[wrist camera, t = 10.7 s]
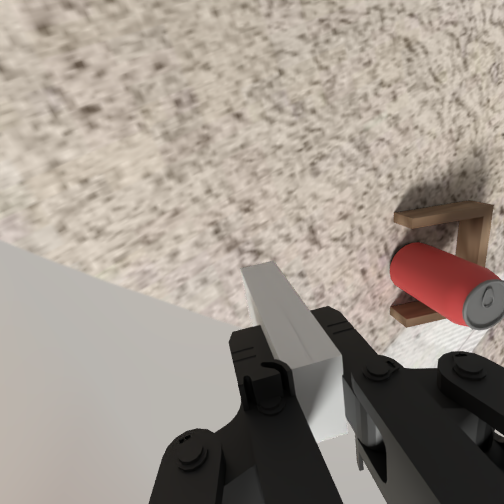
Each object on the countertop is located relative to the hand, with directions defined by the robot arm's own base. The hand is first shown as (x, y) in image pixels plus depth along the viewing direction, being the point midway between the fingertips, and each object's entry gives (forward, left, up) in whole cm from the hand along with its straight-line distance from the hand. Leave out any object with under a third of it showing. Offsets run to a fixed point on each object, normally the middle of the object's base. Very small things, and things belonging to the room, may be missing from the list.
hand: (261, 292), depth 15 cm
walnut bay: (+12, +27, -23) cm, 37 cm away
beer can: (+12, +25, -23) cm, 36 cm away
